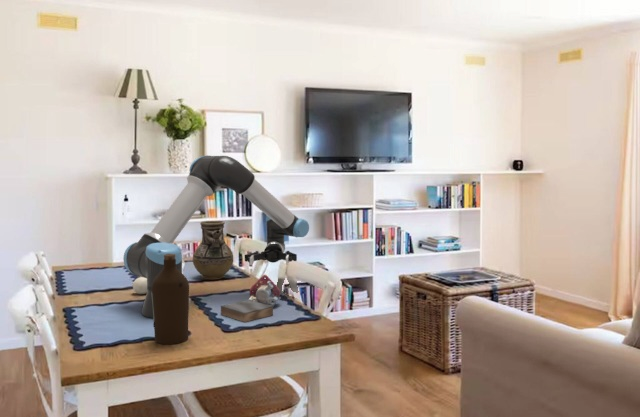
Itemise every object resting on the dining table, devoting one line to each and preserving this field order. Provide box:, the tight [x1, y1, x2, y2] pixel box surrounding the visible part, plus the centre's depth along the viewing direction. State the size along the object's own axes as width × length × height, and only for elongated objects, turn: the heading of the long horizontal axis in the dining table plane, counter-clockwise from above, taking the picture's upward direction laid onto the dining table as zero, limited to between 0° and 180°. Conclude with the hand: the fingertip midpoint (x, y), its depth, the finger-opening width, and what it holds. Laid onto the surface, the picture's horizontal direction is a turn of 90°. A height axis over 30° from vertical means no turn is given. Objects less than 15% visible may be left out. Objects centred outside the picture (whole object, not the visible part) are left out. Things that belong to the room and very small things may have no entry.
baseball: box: [132, 276, 147, 295], centre depth 227 cm, size 7×7×7 cm
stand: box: [220, 299, 274, 323], centre depth 196 cm, size 12×13×3 cm
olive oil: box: [151, 254, 190, 345], centre depth 168 cm, size 11×11×25 cm
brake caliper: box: [247, 274, 281, 308], centre depth 207 cm, size 11×11×12 cm
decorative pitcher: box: [192, 220, 234, 281], centre depth 257 cm, size 22×18×25 cm
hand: (268, 261), depth 218 cm, fingers open, 13 cm apart
